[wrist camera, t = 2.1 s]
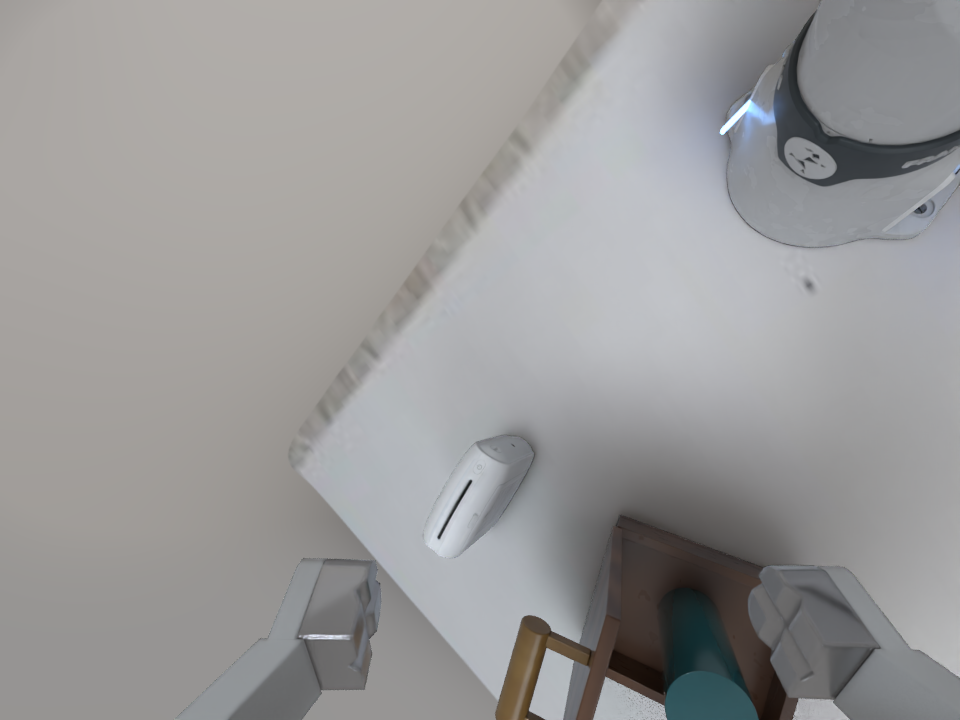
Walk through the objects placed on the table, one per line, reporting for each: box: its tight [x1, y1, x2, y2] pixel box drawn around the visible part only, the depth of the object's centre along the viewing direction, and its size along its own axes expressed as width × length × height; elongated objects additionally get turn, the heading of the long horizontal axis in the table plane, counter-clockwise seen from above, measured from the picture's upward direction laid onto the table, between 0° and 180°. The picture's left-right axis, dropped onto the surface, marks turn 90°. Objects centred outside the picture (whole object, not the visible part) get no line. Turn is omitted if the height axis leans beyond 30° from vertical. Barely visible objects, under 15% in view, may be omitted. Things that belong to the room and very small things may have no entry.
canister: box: [658, 588, 758, 720], centre depth 34 cm, size 5×5×13 cm
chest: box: [606, 515, 798, 720], centre depth 39 cm, size 16×13×4 cm
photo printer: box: [423, 435, 535, 558], centre depth 42 cm, size 10×4×12 cm, turn 150°
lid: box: [495, 526, 622, 720], centre depth 32 cm, size 16×13×5 cm
